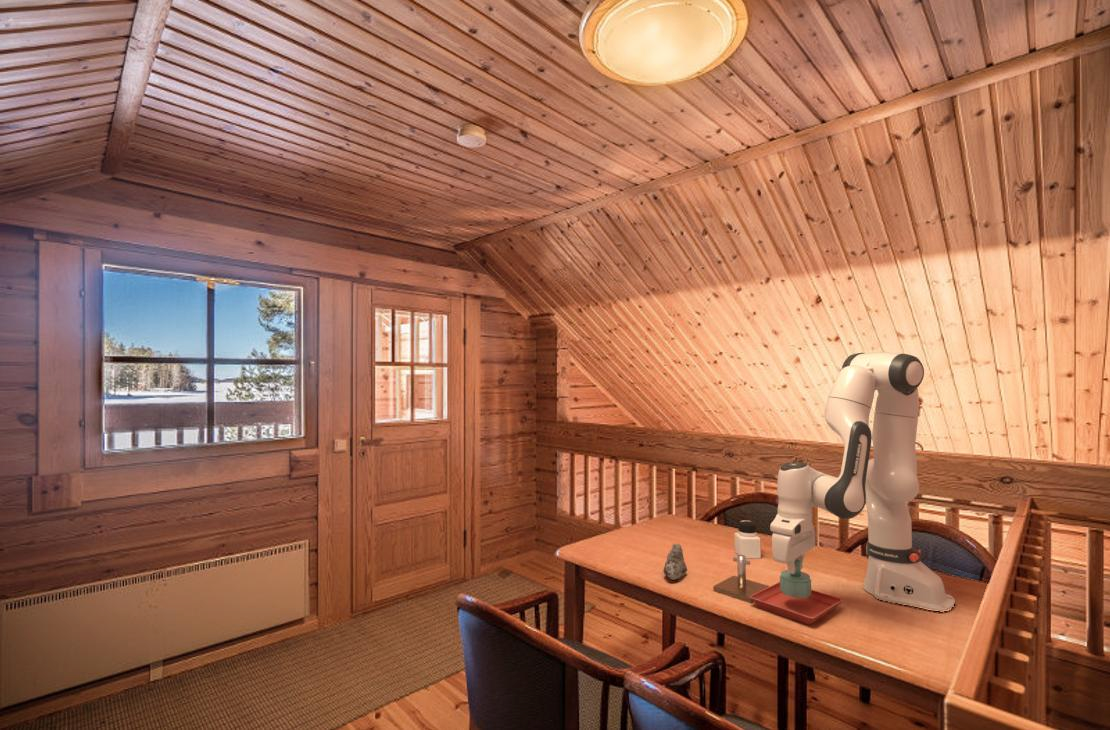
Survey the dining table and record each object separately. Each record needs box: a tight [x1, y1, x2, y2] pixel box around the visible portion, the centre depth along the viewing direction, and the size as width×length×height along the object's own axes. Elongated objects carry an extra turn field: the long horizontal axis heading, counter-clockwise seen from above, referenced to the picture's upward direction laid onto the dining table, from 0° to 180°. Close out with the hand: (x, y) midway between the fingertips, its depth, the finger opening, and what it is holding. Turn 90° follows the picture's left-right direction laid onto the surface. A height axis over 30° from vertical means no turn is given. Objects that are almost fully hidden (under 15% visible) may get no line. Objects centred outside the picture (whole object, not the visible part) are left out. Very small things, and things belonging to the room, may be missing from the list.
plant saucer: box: [750, 581, 843, 625], centre depth 150 cm, size 18×18×3 cm
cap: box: [779, 558, 812, 598], centre depth 150 cm, size 7×7×9 cm
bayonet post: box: [712, 554, 771, 604], centre depth 161 cm, size 12×12×10 cm
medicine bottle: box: [734, 520, 762, 560], centre depth 193 cm, size 7×7×12 cm
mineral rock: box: [662, 542, 688, 581], centre depth 175 cm, size 13×11×10 cm
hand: (795, 571), depth 150 cm, fingers closed on cap, 3 cm apart
